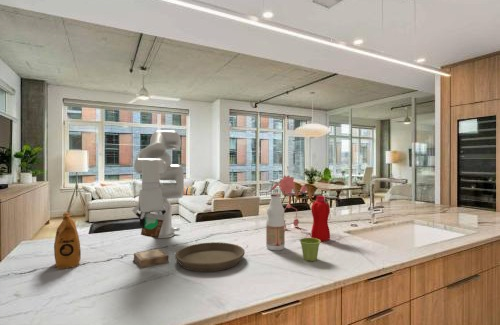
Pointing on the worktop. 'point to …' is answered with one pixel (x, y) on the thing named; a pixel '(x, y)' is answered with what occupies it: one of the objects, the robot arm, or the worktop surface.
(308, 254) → the plant pot
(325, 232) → the water bottle
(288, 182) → the figurine
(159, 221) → the food container
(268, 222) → the fruit juice
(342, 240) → the worktop surface
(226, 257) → the plant saucer
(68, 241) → the coffee package
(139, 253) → the base
